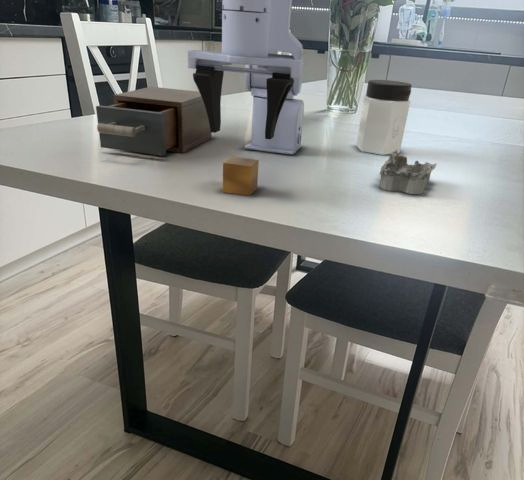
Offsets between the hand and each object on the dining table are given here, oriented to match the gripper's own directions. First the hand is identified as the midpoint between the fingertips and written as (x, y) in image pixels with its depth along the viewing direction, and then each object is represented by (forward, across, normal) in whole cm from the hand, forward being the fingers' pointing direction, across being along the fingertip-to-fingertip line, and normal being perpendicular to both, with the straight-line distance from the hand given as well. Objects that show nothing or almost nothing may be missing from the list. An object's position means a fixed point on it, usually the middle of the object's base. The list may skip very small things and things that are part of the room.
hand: (242, 134), depth 65 cm
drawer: (+7, -22, +14) cm, 27 cm away
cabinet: (+7, -22, +24) cm, 33 cm away
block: (+8, 0, 0) cm, 8 cm away
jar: (+8, +17, +38) cm, 43 cm away
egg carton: (+8, +23, +14) cm, 28 cm away
